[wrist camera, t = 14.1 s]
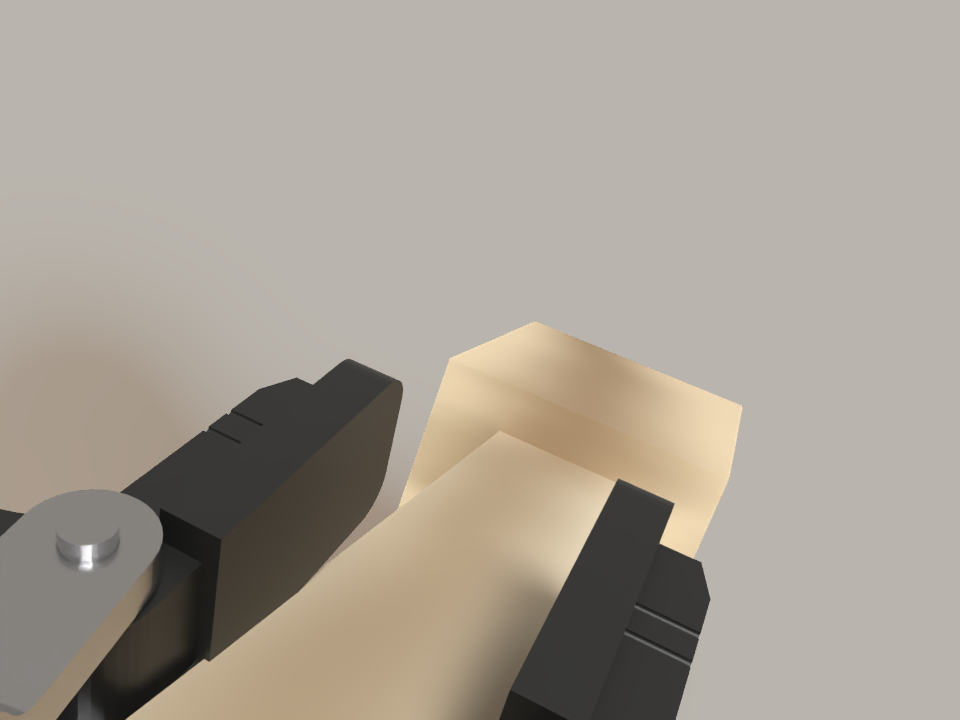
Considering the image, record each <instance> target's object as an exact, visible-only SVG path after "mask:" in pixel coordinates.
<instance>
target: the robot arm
mask: <svg viewBox="0 0 960 720" xmlns="http://www.w3.org/2000/svg"><path fill="white" fill-rule="evenodd" d="M402 393H403V386H402V383H401V382H400V381H399V380H396V379H394V378H392V377H390V376H387V375H385V374H383V373H381V372H378V371H376V370H374V369H372V368H369V367H367V366H365V365H362V364H360V363H358V362H356V361H353V360H351V359H346V360H344V361H343V362H341V363H340V364H339V365H337V366H336V367H335V368H334V369H332V370H331V371H330V372H328V373H327V374H326V375H325V376H324V377H322V378H321V379H320V380H319V381H317V382H316V383H315V384H314V385H312V384H309V383H307V382H305V381H303V380H301V379H298V378H294V379H291V380H288V381H284V382H281V383H278V384H275V385H271V386H268V387H265V388H262V389H259V390H257V391H256V392H255V393H253V394H252V395H251V396H249V397H248V398H247V399H245V400H244V401H243V402H241V403H240V404H239V405H237V406H236V407H235V408H233V409H232V410H231V413H230V414H229V415H228V414H225V415H224V416H222V417H221V418H220V419H218V420H217V421H216V422H214V423H213V424H212V425H210V426H209V429H208V430H207V432H205V431H202V432H201V433H199V434H198V435H197V436H195V437H194V438H193V439H191V440H190V441H189V442H188V443H186V444H185V445H183V446H182V447H181V448H179V449H178V450H177V451H175V452H174V453H173V454H171V455H170V456H169V457H167V458H166V459H165V460H163V461H162V462H161V463H159V464H158V465H157V466H155V467H154V468H152V469H151V470H150V471H149V472H147V473H146V474H144V475H143V476H142V477H140V478H139V479H138V480H136V481H135V482H134V483H132V484H131V485H130V486H128V487H127V488H126V489H124V490H123V491H121V492H120V493H119V492H115V491H108V490H80V491H74V492H68V493H65V494H61V495H58V496H55V497H52V498H50V499H48V500H45V501H43V502H41V503H40V504H38V505H36V506H35V507H33V508H32V509H30V510H29V511H28V512H27V513H25V514H23V513H16V512H11V511H6V510H2V509H0V720H126V719H127V718H128V717H130V716H131V715H132V714H134V713H135V712H136V711H137V710H139V709H140V708H141V707H143V706H144V705H145V704H146V703H148V702H149V701H150V700H152V699H153V698H154V697H156V696H157V695H158V694H159V693H161V692H162V691H163V690H165V689H166V688H167V687H169V686H170V685H171V684H172V683H174V682H175V681H176V680H178V679H179V678H180V677H181V676H183V675H184V674H185V673H187V672H188V671H189V670H191V669H192V668H193V667H194V666H196V665H197V664H198V663H200V662H201V661H202V660H203V659H205V660H207V661H209V662H210V661H211V660H213V659H214V658H215V657H216V656H218V655H219V654H220V653H221V652H223V651H224V650H225V649H227V648H228V647H229V646H230V645H232V644H233V643H234V642H235V641H237V640H238V639H239V638H241V637H242V636H243V635H244V634H246V633H247V632H248V631H249V630H251V629H252V628H253V627H255V626H256V625H257V624H258V623H260V622H261V621H262V620H263V619H265V618H266V617H267V616H269V615H270V614H271V613H272V612H274V611H275V610H276V609H277V608H279V607H280V606H281V605H283V604H284V603H285V602H286V601H288V600H289V599H290V598H291V597H293V596H294V595H295V594H297V593H298V592H299V591H300V590H301V589H302V588H303V587H304V585H305V584H306V583H307V582H308V581H309V580H310V579H311V578H312V576H313V575H314V574H315V573H316V572H317V571H318V570H319V568H320V567H321V566H322V565H323V564H324V563H325V562H326V561H327V560H328V558H329V557H330V556H331V555H332V554H333V553H334V552H335V551H336V549H337V548H338V547H339V546H340V545H341V544H342V543H343V542H344V540H345V539H346V538H347V537H348V536H349V535H350V534H351V533H352V531H353V530H354V529H355V528H356V527H357V526H358V524H360V522H361V521H362V520H363V519H364V518H365V516H366V515H367V513H368V512H369V510H370V509H371V507H372V506H373V504H374V502H375V500H376V498H377V496H378V494H379V492H380V489H381V487H382V484H383V481H384V478H385V474H386V470H387V465H388V460H389V456H390V451H391V447H392V442H393V437H394V433H395V428H396V423H397V419H398V414H399V410H400V405H401V400H402ZM674 505H675V503H673V502H671V501H669V500H666V499H664V498H662V497H660V496H657V495H655V494H653V493H651V492H648V491H646V490H644V489H642V488H639V487H637V486H635V485H632V484H630V483H628V482H626V481H623V480H621V479H619V478H618V480H617V481H616V483H615V485H614V487H613V489H612V491H611V493H610V495H609V497H608V499H607V501H606V503H605V505H604V507H603V509H602V511H601V513H600V515H599V517H598V518H597V520H596V522H595V524H594V526H593V528H592V530H591V532H590V534H589V536H588V538H587V540H586V542H585V544H584V546H583V548H582V550H581V552H580V554H579V556H578V558H577V560H576V562H575V563H574V565H573V567H572V569H571V571H570V573H569V575H568V577H567V579H566V581H565V583H564V585H563V587H562V589H561V591H560V593H559V595H558V597H557V599H556V601H555V603H554V605H553V607H552V608H551V610H550V612H549V614H548V616H547V618H546V620H545V622H544V624H543V626H542V628H541V630H540V632H539V634H538V636H537V638H536V640H535V642H534V644H533V646H532V648H531V650H530V652H529V653H528V655H527V657H526V659H525V661H524V663H523V665H522V667H521V669H520V671H519V673H518V675H517V677H516V679H515V681H514V683H513V685H512V687H511V689H510V691H509V694H508V697H507V699H506V702H505V705H504V707H503V710H502V713H501V716H500V718H499V720H676V716H677V712H678V709H679V706H680V702H681V699H682V695H683V691H684V688H685V685H686V681H687V678H688V675H689V671H690V665H691V663H692V660H693V657H694V654H695V650H696V647H697V643H698V640H699V639H698V638H699V635H700V633H701V630H702V626H703V623H704V619H705V616H706V612H707V609H708V605H709V602H710V596H709V592H708V588H707V584H706V580H705V576H704V572H703V568H702V564H701V562H699V561H697V560H695V559H693V558H690V557H688V556H686V555H684V554H682V553H679V552H677V551H675V550H673V549H671V548H668V547H666V546H664V545H662V544H660V540H661V538H662V535H663V533H664V530H665V528H666V525H667V523H668V520H669V518H670V515H671V513H672V510H673V507H674Z"/></svg>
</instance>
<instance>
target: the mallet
mask: <svg viewBox="0 0 960 720" xmlns="http://www.w3.org/2000/svg"><path fill="white" fill-rule="evenodd" d="M742 407H743V406H741V405H738V404H736V403H734V402H731V401H729V400H727V399H724V398H722V397H719V396H717V395H714V394H712V393H709V392H707V391H704V390H702V389H699V388H697V387H695V386H692V385H689V384H687V383H685V382H682V381H680V380H677V379H675V378H673V377H670V376H668V375H665V374H663V373H660V372H658V371H656V370H653V369H651V368H648V367H646V366H643V365H641V364H638V363H636V362H634V361H631V360H629V359H626V358H624V357H621V356H619V355H616V354H614V353H612V352H609V351H607V350H604V349H602V348H599V347H597V346H594V345H592V344H589V343H587V342H584V341H582V340H579V339H577V338H575V337H572V336H570V335H568V334H565V333H562V332H560V331H558V330H555V329H553V328H550V327H548V326H546V325H543V324H541V323H538V322H536V321H535V322H532V323H530V324H528V325H526V326H523V327H521V328H519V329H516V330H514V331H512V332H509V333H507V334H505V335H503V336H500V337H498V338H496V339H494V340H491V341H489V342H486V343H484V344H482V345H480V346H477V347H475V348H473V349H470V350H468V351H466V352H464V353H461V354H459V355H457V356H454V357H452V358H450V360H449V363H448V366H447V369H446V372H445V375H444V377H443V380H442V383H441V386H440V389H439V392H438V395H437V398H436V400H435V403H434V406H433V409H432V412H431V415H430V418H429V421H428V424H427V427H426V429H425V433H424V435H423V438H422V441H421V444H420V447H419V450H418V452H417V456H416V458H415V462H414V464H413V467H412V470H411V473H410V476H409V478H408V482H407V484H406V487H405V490H404V493H403V496H402V499H401V502H400V505H399V507H398V510H396V511H395V512H394V513H393V514H391V515H390V516H389V517H388V518H386V519H385V520H383V521H382V522H381V523H380V524H378V525H377V526H376V527H374V528H373V529H372V530H371V531H369V532H368V533H367V534H365V535H364V536H363V537H362V538H360V539H359V540H358V541H356V542H355V543H354V544H352V545H351V546H350V547H349V548H347V549H346V550H345V551H343V552H342V553H341V554H339V555H338V556H337V557H336V558H334V559H333V560H332V561H330V562H329V563H328V564H326V565H325V566H324V567H323V568H321V569H320V570H319V571H317V572H316V573H315V574H314V575H313V576H312V578H311V579H310V580H309V581H308V582H307V583H306V584H305V585H304V587H303V588H302V589H301V590H300V591H299V592H298V593H297V594H295V595H294V596H293V597H291V598H290V599H289V600H288V601H286V602H285V603H284V604H283V605H281V606H280V607H279V608H277V609H276V610H275V611H274V612H272V613H271V614H270V615H269V616H267V617H266V618H265V619H263V620H262V621H261V622H260V623H258V624H257V625H256V626H255V627H253V628H252V629H251V630H249V631H248V632H247V633H246V634H244V635H243V636H242V637H241V638H239V639H238V640H237V641H235V642H234V643H233V644H232V645H230V646H229V647H228V648H227V649H225V650H224V651H223V652H221V653H220V654H219V655H218V656H216V657H215V658H214V659H213V660H211V661H210V662H209V661H207V660H205V659H203V660H202V661H201V662H200V663H198V664H197V665H196V666H194V667H193V668H192V669H191V670H189V671H188V672H187V673H185V674H184V675H183V676H181V677H180V678H179V679H178V680H176V681H175V682H174V683H172V684H171V685H170V686H169V687H167V688H166V689H165V690H163V691H162V692H161V693H159V694H158V695H157V696H156V697H154V698H153V699H152V700H150V701H149V702H148V703H146V704H145V705H144V706H143V707H141V708H140V709H139V710H137V711H136V712H135V713H134V714H132V715H131V716H130V717H128V718H127V719H126V720H499V718H500V716H501V713H502V710H503V707H504V705H505V702H506V699H507V697H508V694H509V691H510V689H511V687H512V685H513V683H514V681H515V679H516V677H517V675H518V673H519V671H520V669H521V667H522V665H523V663H524V661H525V659H526V657H527V655H528V653H529V652H530V650H531V648H532V646H533V644H534V642H535V640H536V638H537V636H538V634H539V632H540V630H541V628H542V626H543V624H544V622H545V620H546V618H547V616H548V614H549V612H550V610H551V608H552V607H553V605H554V603H555V601H556V599H557V597H558V595H559V593H560V591H561V589H562V587H563V585H564V583H565V581H566V579H567V577H568V575H569V573H570V571H571V569H572V567H573V565H574V563H575V562H576V560H577V558H578V556H579V554H580V552H581V550H582V548H583V546H584V544H585V542H586V540H587V538H588V536H589V534H590V532H591V530H592V528H593V526H594V524H595V522H596V520H597V518H598V517H599V515H600V513H601V511H602V509H603V507H604V505H605V503H606V501H607V499H608V497H609V495H610V493H611V491H612V489H613V487H614V485H615V483H616V481H617V480H618V478H619V479H621V480H623V481H626V482H628V483H630V484H632V485H635V486H637V487H639V488H642V489H644V490H646V491H648V492H651V493H653V494H655V495H657V496H660V497H662V498H664V499H666V500H669V501H671V502H673V503H675V505H674V507H673V510H672V513H671V515H670V518H669V520H668V523H667V525H666V528H665V530H664V533H663V535H662V538H661V540H660V544H662V545H664V546H666V547H668V548H671V549H673V550H675V551H677V552H679V553H682V554H684V555H686V556H688V557H690V558H693V559H694V556H695V554H696V552H697V550H698V547H699V545H700V543H701V541H702V538H703V536H704V534H705V532H706V529H707V527H708V525H709V522H710V520H711V518H712V516H713V514H714V512H715V509H716V507H717V505H718V502H719V500H720V498H721V496H722V494H723V491H724V489H725V487H726V484H727V482H728V480H729V478H730V472H731V467H732V461H733V456H734V450H735V444H736V439H737V434H738V429H739V423H740V418H741V413H742Z"/></svg>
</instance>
